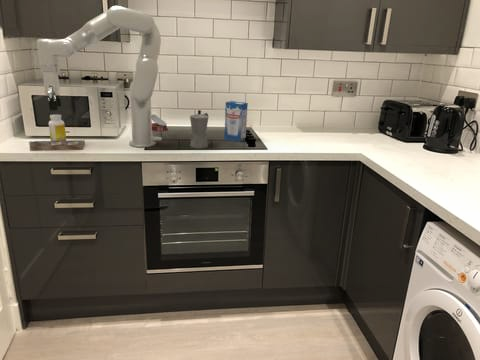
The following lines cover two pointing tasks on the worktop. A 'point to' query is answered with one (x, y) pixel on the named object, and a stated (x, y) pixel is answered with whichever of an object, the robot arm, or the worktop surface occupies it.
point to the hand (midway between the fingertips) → (55, 108)
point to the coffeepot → (199, 130)
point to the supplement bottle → (57, 128)
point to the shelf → (57, 145)
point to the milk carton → (235, 121)
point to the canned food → (158, 124)
